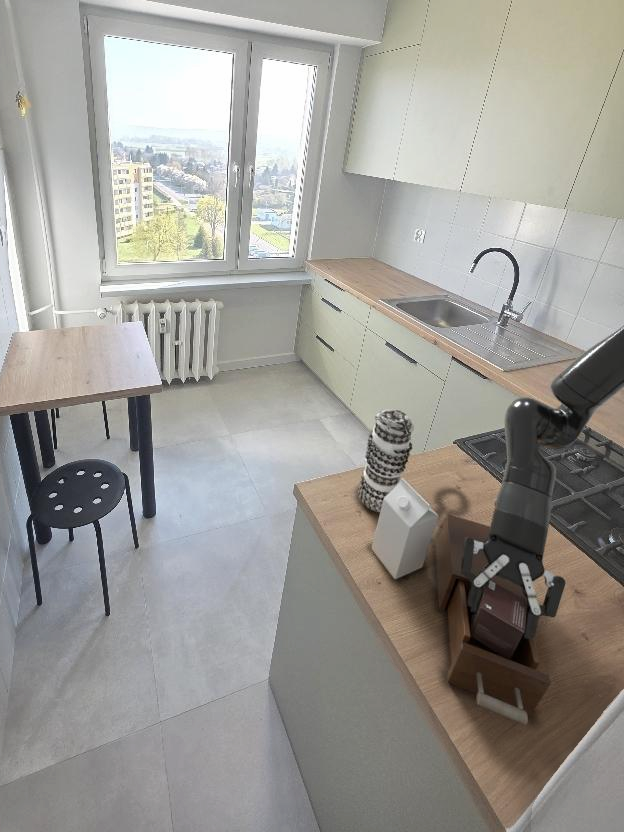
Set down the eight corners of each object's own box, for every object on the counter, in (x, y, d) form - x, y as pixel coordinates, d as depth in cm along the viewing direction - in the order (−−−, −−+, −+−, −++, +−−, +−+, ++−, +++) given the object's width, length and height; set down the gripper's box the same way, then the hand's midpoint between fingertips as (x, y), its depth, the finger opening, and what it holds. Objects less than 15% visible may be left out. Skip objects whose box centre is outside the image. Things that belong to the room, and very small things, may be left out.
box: (509, 662, 64) (525, 633, 61) (467, 635, 67) (479, 607, 64) (514, 628, 68) (529, 600, 65) (474, 605, 72) (486, 577, 69)
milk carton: (397, 540, 90) (415, 473, 82) (421, 569, 84) (444, 500, 76) (370, 551, 87) (387, 482, 79) (394, 582, 81) (414, 511, 73)
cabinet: (516, 641, 72) (536, 602, 68) (438, 612, 76) (452, 573, 72) (502, 571, 84) (518, 535, 80) (434, 549, 88) (447, 513, 84)
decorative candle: (395, 492, 102) (417, 408, 92) (396, 523, 94) (420, 434, 83) (357, 482, 104) (374, 399, 94) (354, 511, 96) (373, 424, 86)
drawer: (537, 751, 58) (559, 719, 55) (449, 713, 62) (464, 680, 58) (513, 632, 73) (529, 600, 69) (442, 606, 76) (454, 574, 73)
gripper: (475, 497, 69) (450, 603, 65) (582, 538, 63) (562, 660, 58) (469, 499, 76) (446, 596, 71) (566, 536, 69) (546, 646, 64)
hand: (498, 624), depth 65 cm, fingers closed on box, 6 cm apart
